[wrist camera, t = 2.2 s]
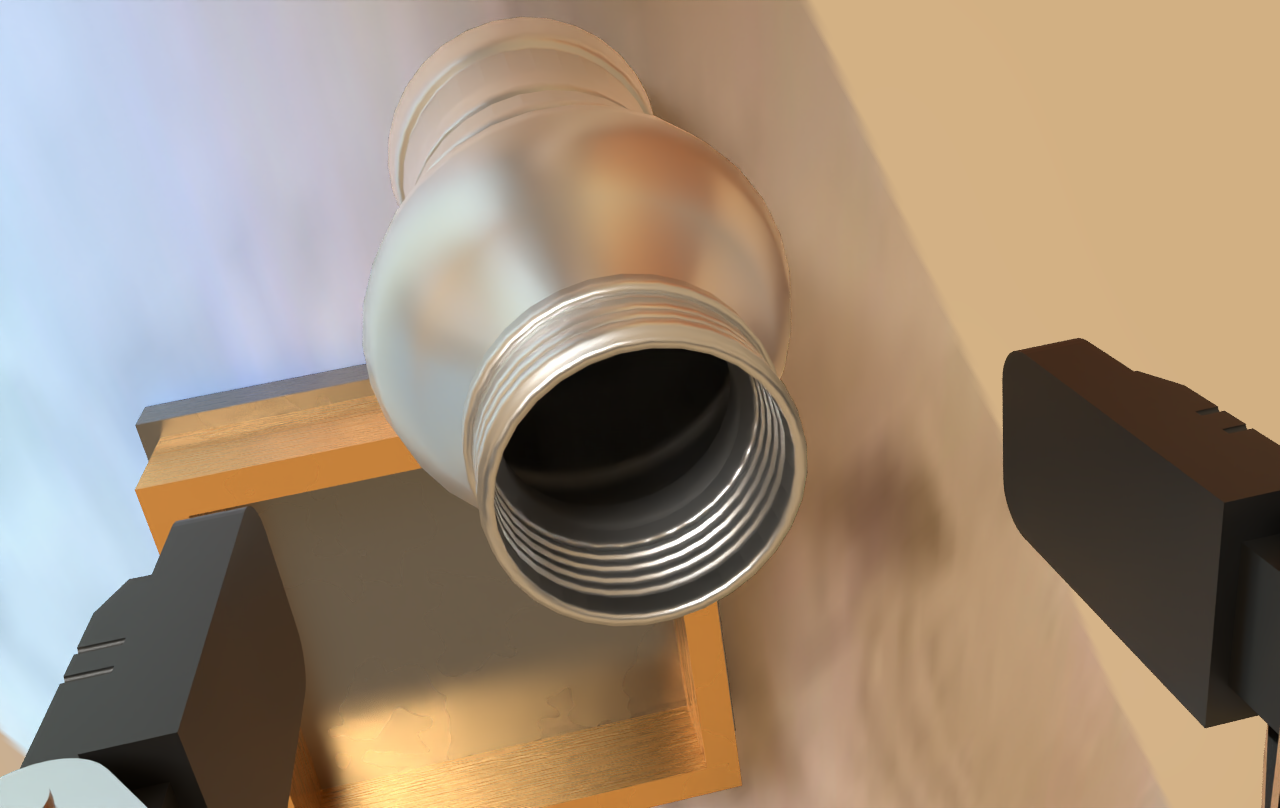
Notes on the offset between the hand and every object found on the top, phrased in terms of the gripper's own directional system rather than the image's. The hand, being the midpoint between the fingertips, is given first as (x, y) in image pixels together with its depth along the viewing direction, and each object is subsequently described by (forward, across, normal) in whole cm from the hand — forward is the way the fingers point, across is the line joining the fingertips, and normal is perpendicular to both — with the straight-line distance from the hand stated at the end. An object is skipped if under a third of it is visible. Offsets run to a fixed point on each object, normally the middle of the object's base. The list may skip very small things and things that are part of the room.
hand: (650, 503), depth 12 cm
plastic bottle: (+20, 0, 0) cm, 21 cm away
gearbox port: (+20, +4, +13) cm, 24 cm away
